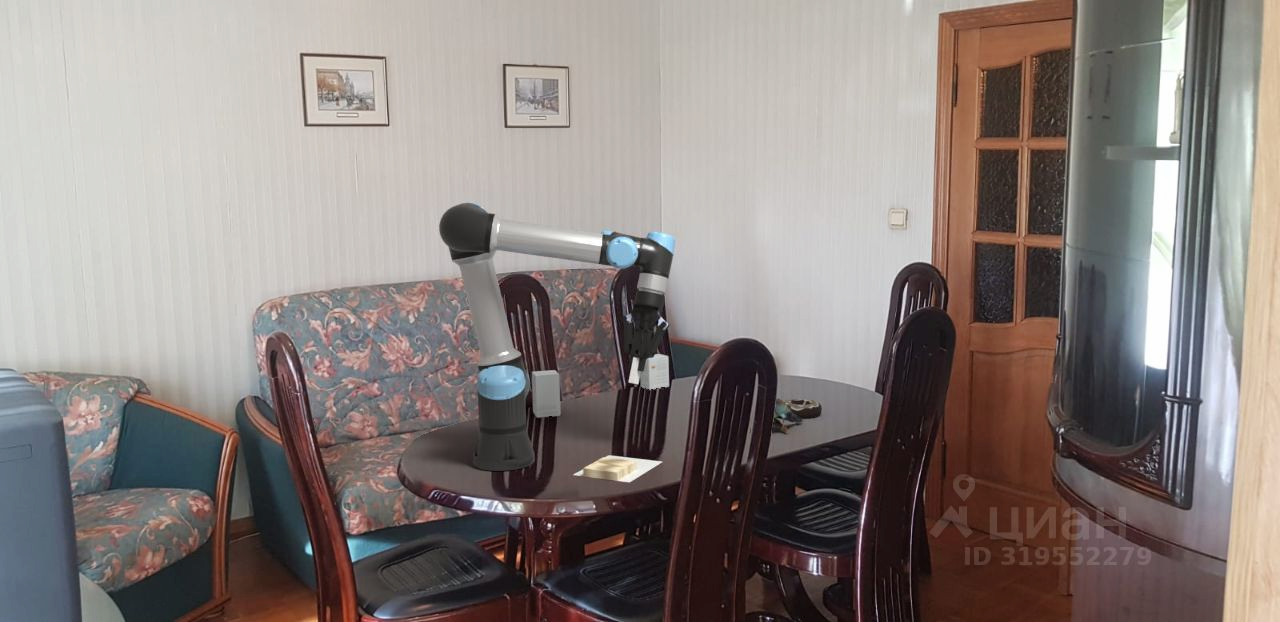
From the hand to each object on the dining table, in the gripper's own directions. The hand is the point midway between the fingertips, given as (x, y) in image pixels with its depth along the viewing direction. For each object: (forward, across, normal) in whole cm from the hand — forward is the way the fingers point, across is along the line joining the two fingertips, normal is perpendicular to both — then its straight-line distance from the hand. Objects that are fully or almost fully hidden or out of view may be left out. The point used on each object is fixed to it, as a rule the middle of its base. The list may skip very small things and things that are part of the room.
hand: (633, 383), depth 260 cm
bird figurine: (+5, -27, -38) cm, 46 cm away
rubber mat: (+22, -6, +10) cm, 25 cm away
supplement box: (+13, +42, -30) cm, 53 cm away
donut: (-1, -27, -57) cm, 63 cm away
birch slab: (+20, -6, +10) cm, 23 cm away
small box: (-2, +29, -74) cm, 80 cm away
